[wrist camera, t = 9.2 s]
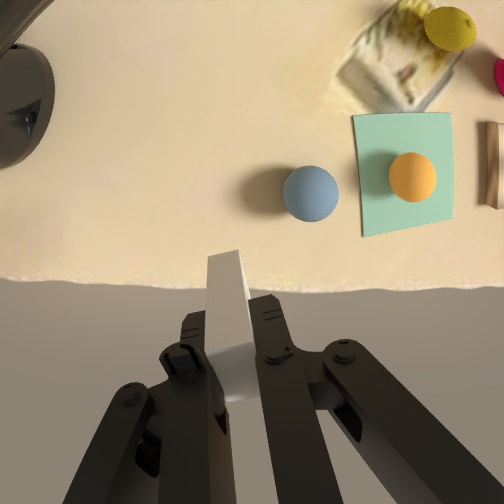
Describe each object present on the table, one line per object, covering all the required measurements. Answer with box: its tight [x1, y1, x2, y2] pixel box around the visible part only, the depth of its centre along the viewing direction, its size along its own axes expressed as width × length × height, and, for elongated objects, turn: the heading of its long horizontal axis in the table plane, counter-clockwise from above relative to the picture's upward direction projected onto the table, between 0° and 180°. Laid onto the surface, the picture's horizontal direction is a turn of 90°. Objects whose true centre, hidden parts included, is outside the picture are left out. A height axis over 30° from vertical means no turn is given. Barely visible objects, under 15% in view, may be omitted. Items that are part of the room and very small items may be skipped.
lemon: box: [424, 7, 476, 51], centre depth 21 cm, size 6×6×8 cm
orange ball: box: [389, 152, 436, 202], centre depth 29 cm, size 6×6×6 cm
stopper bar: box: [486, 122, 504, 210], centre depth 31 cm, size 12×3×2 cm, turn 10°
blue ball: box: [282, 166, 338, 222], centre depth 29 cm, size 6×6×6 cm
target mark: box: [353, 113, 454, 237], centre depth 32 cm, size 14×14×1 cm
